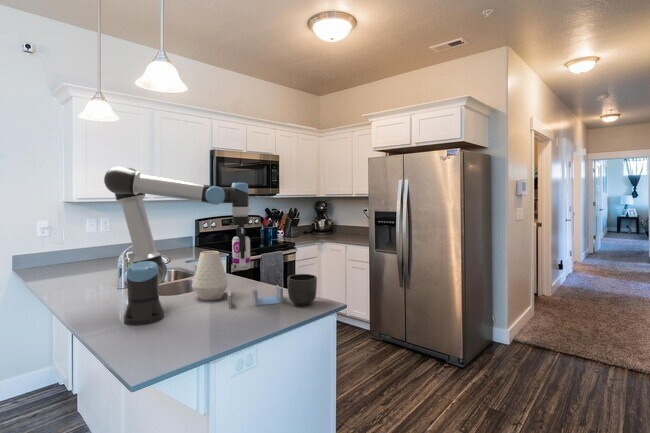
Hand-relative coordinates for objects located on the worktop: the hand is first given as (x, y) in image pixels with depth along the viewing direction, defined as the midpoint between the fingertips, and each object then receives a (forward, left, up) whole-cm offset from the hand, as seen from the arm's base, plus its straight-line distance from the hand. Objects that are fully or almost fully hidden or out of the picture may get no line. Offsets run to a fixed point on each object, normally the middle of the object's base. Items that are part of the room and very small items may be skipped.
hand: (241, 263), depth 176 cm
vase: (-14, +16, -19) cm, 29 cm away
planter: (+27, -10, -19) cm, 35 cm away
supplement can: (0, 0, -3) cm, 3 cm away
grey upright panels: (+6, 0, -19) cm, 20 cm away
